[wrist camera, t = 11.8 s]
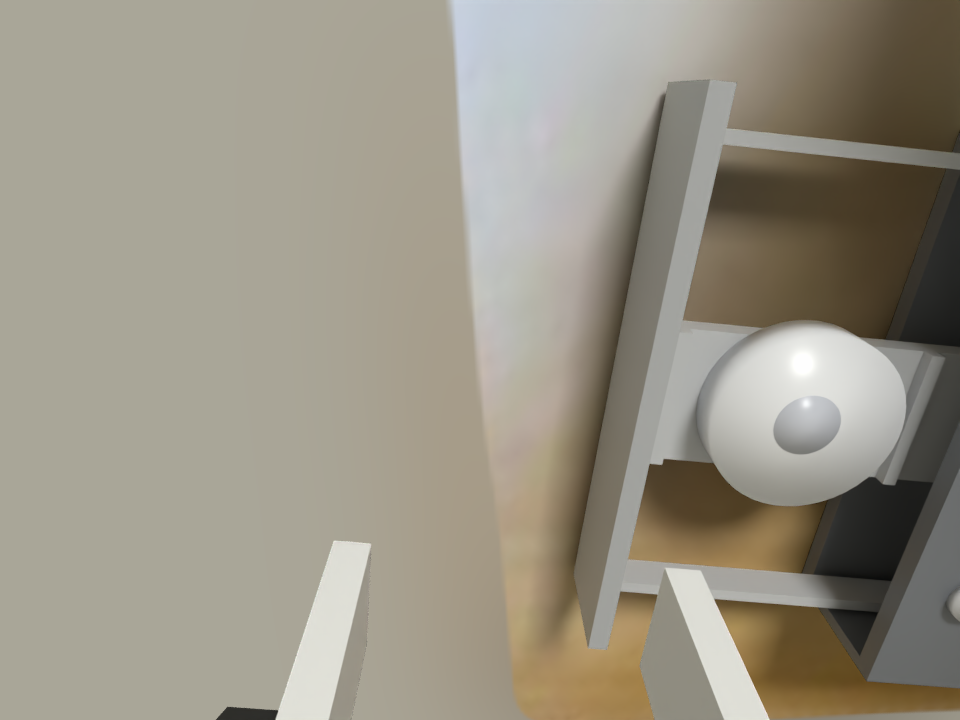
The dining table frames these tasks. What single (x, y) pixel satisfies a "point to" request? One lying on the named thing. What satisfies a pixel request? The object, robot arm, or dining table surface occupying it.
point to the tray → (693, 353)
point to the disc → (800, 412)
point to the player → (907, 503)
